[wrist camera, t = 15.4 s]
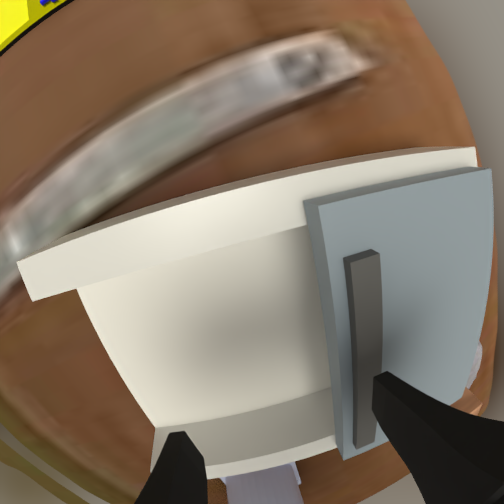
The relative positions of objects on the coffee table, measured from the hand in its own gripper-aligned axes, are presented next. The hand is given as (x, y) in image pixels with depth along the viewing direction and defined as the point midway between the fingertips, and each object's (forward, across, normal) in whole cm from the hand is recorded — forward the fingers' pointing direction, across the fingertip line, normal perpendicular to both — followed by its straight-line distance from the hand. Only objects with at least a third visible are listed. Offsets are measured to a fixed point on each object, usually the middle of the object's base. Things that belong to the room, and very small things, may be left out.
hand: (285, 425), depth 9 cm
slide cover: (+4, -8, +1) cm, 9 cm away
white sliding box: (+9, -2, +1) cm, 10 cm away
